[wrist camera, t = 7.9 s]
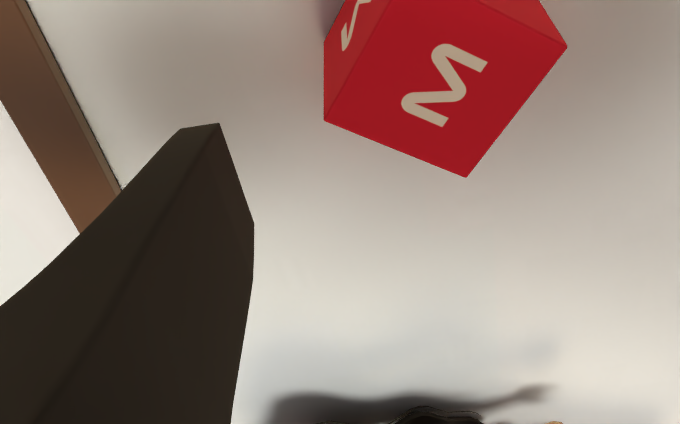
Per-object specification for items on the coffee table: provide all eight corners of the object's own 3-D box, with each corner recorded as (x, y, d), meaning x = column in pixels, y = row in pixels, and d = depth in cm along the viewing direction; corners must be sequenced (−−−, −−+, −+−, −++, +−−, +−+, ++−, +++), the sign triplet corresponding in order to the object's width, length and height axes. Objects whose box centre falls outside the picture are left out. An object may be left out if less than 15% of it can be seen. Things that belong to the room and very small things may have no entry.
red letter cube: (392, -95, 12) (408, -35, 10) (525, -23, 13) (568, 47, 10) (322, 43, 14) (322, 121, 11) (444, 96, 14) (466, 179, 12)
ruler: (203, 352, 20) (201, 362, 20) (161, 357, 20) (158, 367, 20) (-202, -450, 9) (-220, -453, 8) (-294, -426, 9) (-316, -429, 8)
